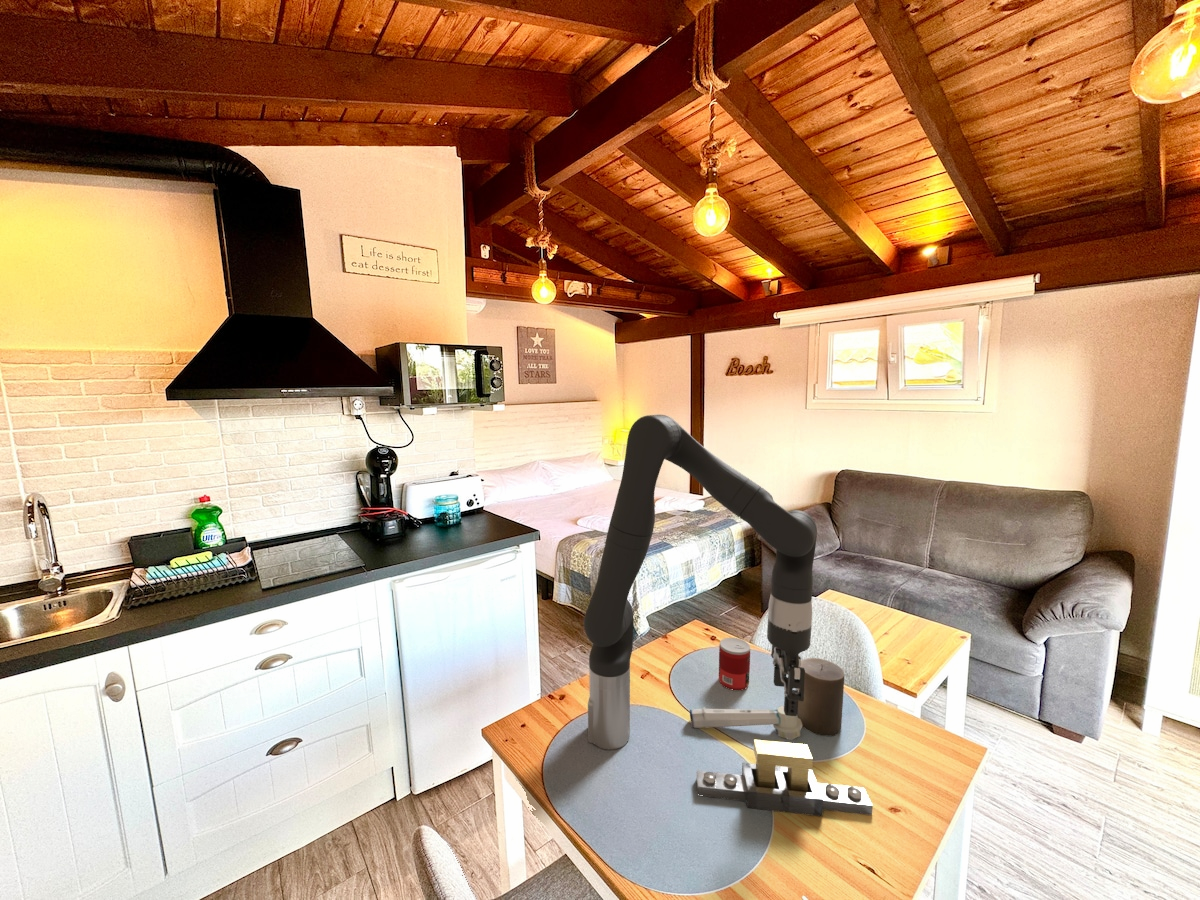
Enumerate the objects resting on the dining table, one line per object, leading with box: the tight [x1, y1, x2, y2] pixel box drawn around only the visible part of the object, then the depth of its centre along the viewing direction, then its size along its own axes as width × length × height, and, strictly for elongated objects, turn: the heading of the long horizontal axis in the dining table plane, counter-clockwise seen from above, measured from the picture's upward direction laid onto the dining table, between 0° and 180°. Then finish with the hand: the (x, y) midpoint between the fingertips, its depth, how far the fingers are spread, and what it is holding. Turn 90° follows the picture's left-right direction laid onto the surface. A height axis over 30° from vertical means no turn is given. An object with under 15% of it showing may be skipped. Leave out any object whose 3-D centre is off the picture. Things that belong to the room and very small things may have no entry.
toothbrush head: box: [689, 705, 803, 741], centre depth 110 cm, size 5×7×25 cm
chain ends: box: [696, 762, 874, 817], centre depth 92 cm, size 32×7×4 cm, turn 82°
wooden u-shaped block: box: [753, 739, 813, 792], centre depth 92 cm, size 10×4×10 cm, turn 82°
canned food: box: [718, 637, 751, 691], centre depth 128 cm, size 8×8×11 cm
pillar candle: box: [797, 657, 845, 737], centre depth 112 cm, size 10×10×15 cm
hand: (784, 699), depth 90 cm, fingers open, 8 cm apart
